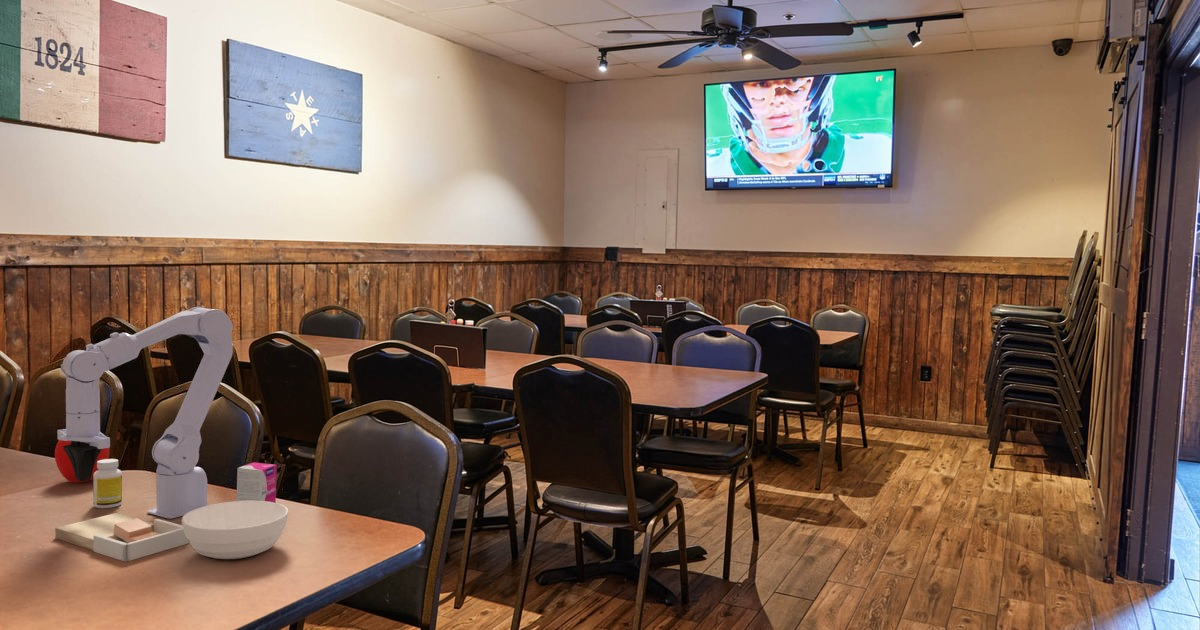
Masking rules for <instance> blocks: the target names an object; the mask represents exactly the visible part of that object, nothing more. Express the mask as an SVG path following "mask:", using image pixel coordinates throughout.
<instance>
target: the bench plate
mask: <svg viewBox="0 0 1200 630" xmlns="http://www.w3.org/2000/svg"><path fill="white" fill-rule="evenodd" d="M136 518H137V517H133V516H129V515H125V514H122V513H118V512H114V513H111V514H107V515H106V514H105V515H103V516H98V517H93V518H90V519H86V520H83V521H79V522H78V521H77V522H73V523H69V524H65V525H61V526H58V527H55V532H54V533H55V535H54V537H55V539H57V540H60V541H63V542H66V543H70V544H73V545H75V546H77V547H78V546H79V547H81V548H85V549H88V550H91V551H94V546H93V535H97V534H98V535H102V536H105V537H108V538H111V539H115V540H118V541H121V542H124V541H125V540H123V539H121V538H119V537H118V536H116V535H114V524H117V523H121V522H124V521H128V520H132V519H136ZM141 520H142V521H143V522H145V523H147V524H149V525H150V526H152V528H151V532H154V522H150V521H147V520H143V519H141Z"/></svg>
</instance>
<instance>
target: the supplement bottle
mask: <svg viewBox="0 0 1200 630" xmlns="http://www.w3.org/2000/svg"><path fill="white" fill-rule="evenodd" d="M118 467H119V459H116V458H108V459H104V460H99V461H98V462H97V468H98V471H96V472H95V473H94V475H93V479H92V482H93V485H92V486H93V491H92V492H93V493H92V494H93V499H92V500H93V507H94V508H96V509H111V508H116V507H118V506H121V505H122V504H123V473H122V470H121V469H119V468H118Z"/></svg>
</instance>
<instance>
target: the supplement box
mask: <svg viewBox="0 0 1200 630" xmlns="http://www.w3.org/2000/svg"><path fill="white" fill-rule="evenodd" d="M277 467H278V466H277V464H271V463H261V462H250V463H248V464H245V465H242V466H239V467H237V475H236V501H267V502H273V503H277V502H276V500H277V499H276V497H277Z"/></svg>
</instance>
